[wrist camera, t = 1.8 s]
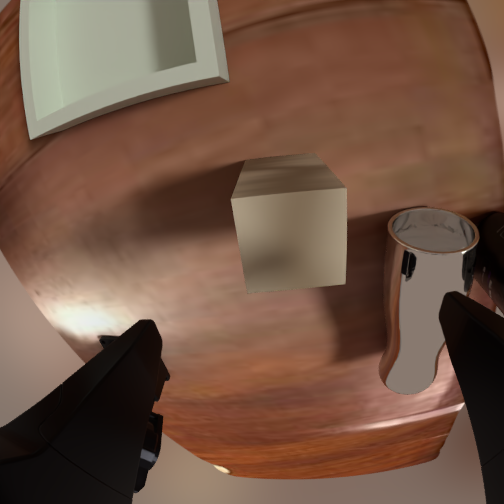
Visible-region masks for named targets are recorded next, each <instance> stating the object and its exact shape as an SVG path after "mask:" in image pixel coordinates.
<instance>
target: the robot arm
mask: <svg viewBox="0 0 504 504" xmlns="http://www.w3.org/2000/svg"><path fill="white" fill-rule="evenodd" d="M439 322H440V325H441V328H442V332H443V335H444V338H445V342H446V345H447V349H448V353H449V356H450V359H451V362H452V365H453V368H454V371H455V373H456V376H457V379H458V382H459V385H460V388H461V391H462V394H463V397H464V400H465V404H466V407H467V410H468V414H469V417H470V420H471V424H472V428H473V432H474V436H475V441H476V445H477V449H478V453H479V459H480V464H481V466H482V467H481V470H482V475H483V482H484V489H485V496H486V504H504V318H503V317H501V316H500V315H498V314H496V313H495V312H493V311H491V310H490V309H488V308H486V307H485V306H483V305H481V304H479V303H478V302H476V301H474V300H472V299H471V298H469V297H467V296H465V295H463V294H462V293H460V292H458V291H451V292H447V293H445V295H444V297H443V300H442V304H441V307H440V310H439ZM99 341H100V343H101V345H102V346H103V348H104V349H103V350H102V351H101V352H100V353H98V354H97V355H96V356H95V357H93V358H92V359H91V360H90V361H88V362H87V363H86V364H85V365H84V366H82V367H81V368H80V369H79V370H77V372H75V373H74V374H73V375H72V376H70V377H69V378H68V379H67V380H65V381H64V382H63V384H60V385H59V386H58V387H57V388H56V389H54V390H53V391H52V392H51V393H50V394H48V395H47V396H46V397H44V398H43V399H42V400H41V401H39V402H38V403H37V404H35V405H34V406H32V407H31V408H30V409H28V410H27V411H25V412H24V413H22V414H21V415H19V416H18V417H17V418H15V419H14V420H12V421H11V422H9V423H8V424H6V425H5V426H3V427H1V428H0V504H132V498H133V493H137V492H139V491H140V490H141V489H142V488H143V487H144V486H145V482H146V478H147V474H148V470H150V469H151V468H152V467H153V465H154V464H155V463H156V461H157V459H158V456H159V452H160V448H161V437H162V425H163V416H162V415H160V414H156V413H154V412H152V409H153V405H154V402H155V401H156V402H157V401H159V399H160V396H161V392H162V389H163V386H164V383H165V381H168V380H169V379H170V375H169V373H168V370H167V368H166V366H165V365H164V363H163V361H162V359H161V351H162V338H161V336H160V334H159V331H158V329H157V327H156V324H155V322H154V321H153V320H151V319H142V320H139V321H138V322H137V323H135V324H134V325H133V326H132V327H130V328H129V329H128V330H127V331H125V332H124V333H123V334H122V335H121V336H119V337H105V336H102V337H101V338H100V340H99Z"/></svg>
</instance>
